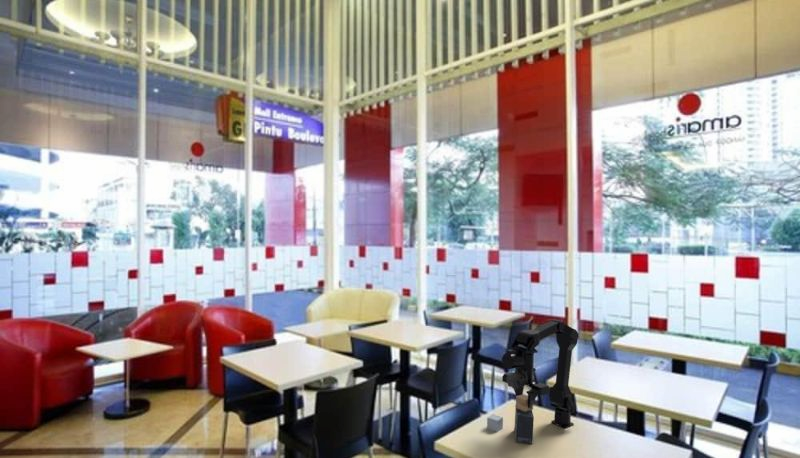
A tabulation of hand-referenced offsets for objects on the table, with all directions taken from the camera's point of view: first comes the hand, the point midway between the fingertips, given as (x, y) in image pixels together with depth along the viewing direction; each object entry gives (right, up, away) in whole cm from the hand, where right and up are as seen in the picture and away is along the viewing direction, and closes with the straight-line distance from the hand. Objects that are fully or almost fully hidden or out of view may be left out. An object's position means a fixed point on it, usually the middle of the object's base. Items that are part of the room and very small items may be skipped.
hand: (524, 405), depth 170 cm
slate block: (-10, -12, +7) cm, 17 cm away
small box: (0, -12, 0) cm, 12 cm away
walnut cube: (0, -1, 0) cm, 1 cm away
